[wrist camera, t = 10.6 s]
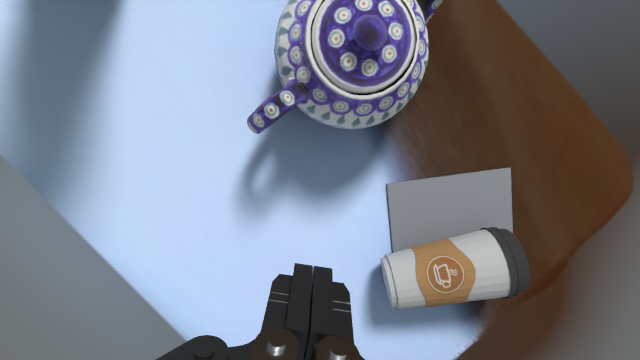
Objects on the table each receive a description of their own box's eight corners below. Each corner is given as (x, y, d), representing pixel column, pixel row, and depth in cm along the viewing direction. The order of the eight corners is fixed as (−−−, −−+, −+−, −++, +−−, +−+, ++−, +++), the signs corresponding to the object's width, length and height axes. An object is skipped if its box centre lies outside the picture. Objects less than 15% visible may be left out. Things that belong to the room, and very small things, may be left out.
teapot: (290, 176, 43) (291, 202, 29) (214, 67, 41) (171, 34, 26) (462, 59, 43) (552, 25, 28) (396, -59, 40) (457, -164, 26)
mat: (395, 288, 47) (396, 289, 46) (386, 183, 45) (387, 184, 44) (512, 270, 48) (513, 271, 47) (508, 167, 46) (510, 167, 45)
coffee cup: (381, 246, 39) (517, 220, 39) (376, 248, 48) (488, 227, 47) (399, 325, 38) (541, 299, 37) (390, 313, 46) (507, 291, 45)
